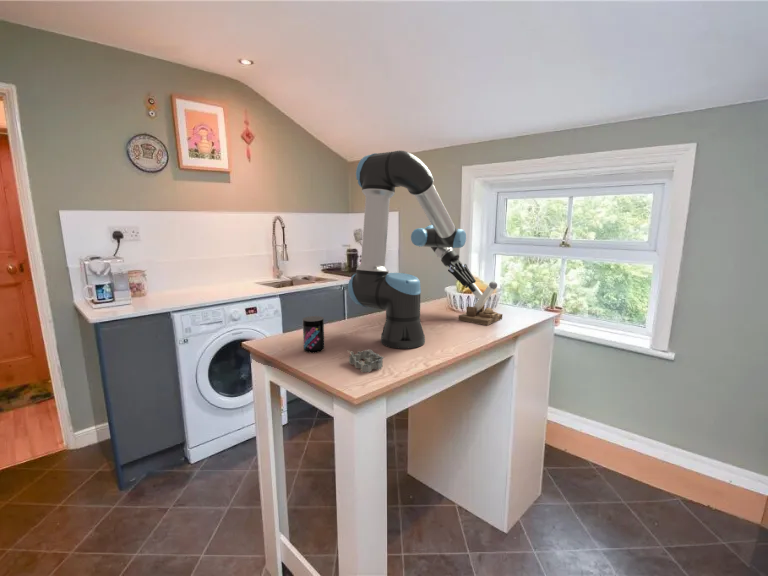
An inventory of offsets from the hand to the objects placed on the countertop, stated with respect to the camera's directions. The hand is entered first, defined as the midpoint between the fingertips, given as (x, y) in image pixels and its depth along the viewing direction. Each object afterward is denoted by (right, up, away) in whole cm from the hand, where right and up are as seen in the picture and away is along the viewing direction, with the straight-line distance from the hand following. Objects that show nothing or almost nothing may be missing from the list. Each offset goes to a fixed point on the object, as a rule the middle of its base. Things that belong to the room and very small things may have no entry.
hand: (480, 296), depth 158 cm
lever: (-1, -6, +2) cm, 6 cm away
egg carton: (-46, -19, -49) cm, 69 cm away
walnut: (+3, -8, -1) cm, 9 cm away
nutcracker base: (0, -10, +1) cm, 10 cm away
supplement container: (-63, -17, -35) cm, 74 cm away
